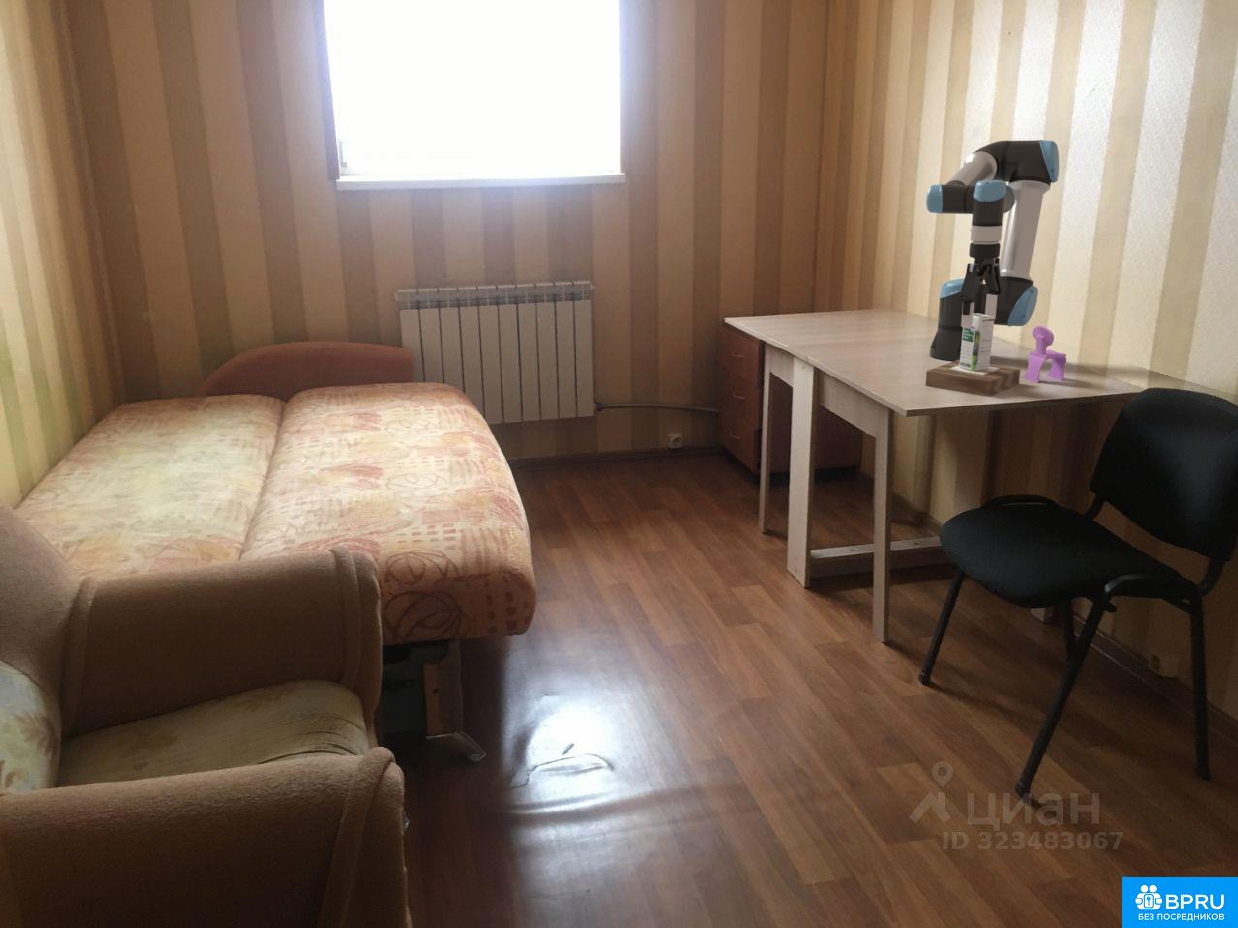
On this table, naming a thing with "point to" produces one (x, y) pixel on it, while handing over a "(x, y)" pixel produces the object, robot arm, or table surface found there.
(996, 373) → the walnut base
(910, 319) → the table surface
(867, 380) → the table surface
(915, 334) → the table surface
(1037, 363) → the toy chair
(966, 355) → the syrup box
